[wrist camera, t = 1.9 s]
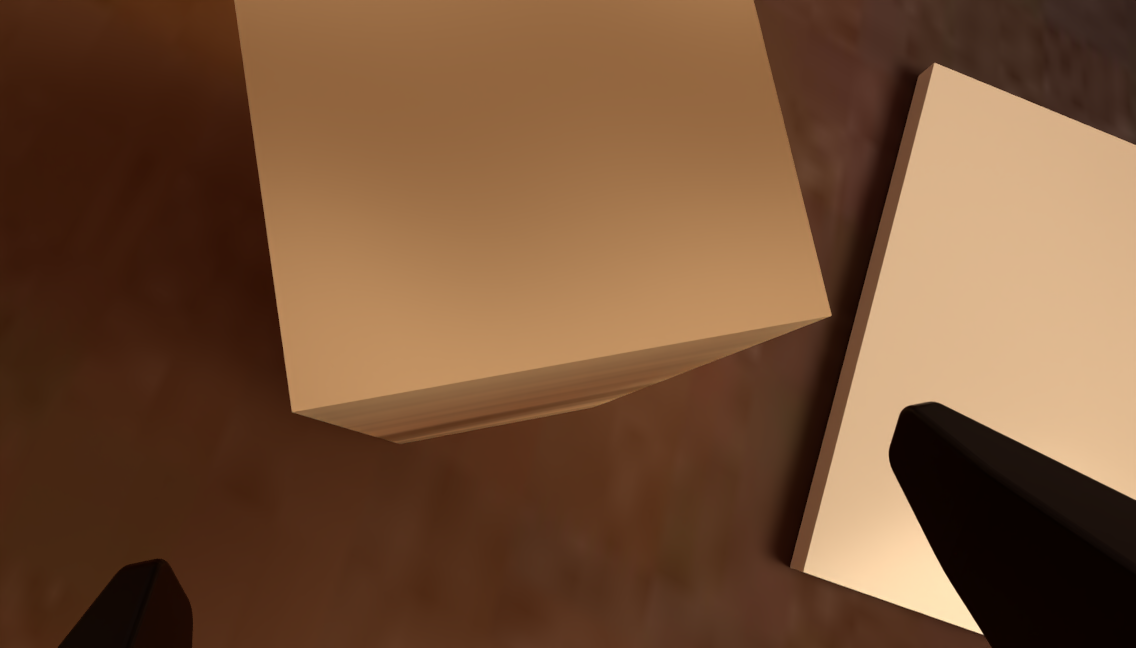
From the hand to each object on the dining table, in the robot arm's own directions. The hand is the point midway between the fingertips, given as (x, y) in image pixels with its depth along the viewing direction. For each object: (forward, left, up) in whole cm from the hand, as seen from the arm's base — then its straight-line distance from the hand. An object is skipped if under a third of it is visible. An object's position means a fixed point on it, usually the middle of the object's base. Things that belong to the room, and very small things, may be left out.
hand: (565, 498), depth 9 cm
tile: (-9, -15, -10) cm, 20 cm away
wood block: (+3, -2, -10) cm, 11 cm away
